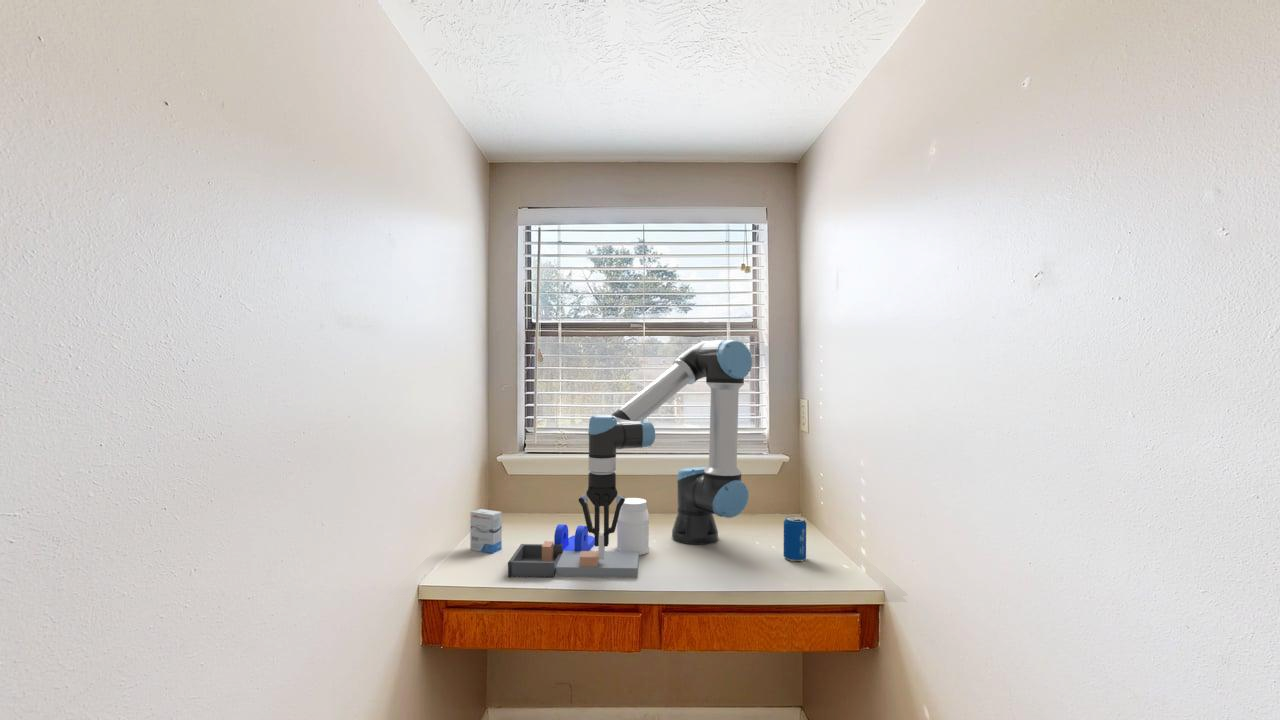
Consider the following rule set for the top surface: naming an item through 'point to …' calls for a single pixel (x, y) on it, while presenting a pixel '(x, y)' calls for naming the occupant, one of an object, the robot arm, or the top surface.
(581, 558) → the tile
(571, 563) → the board
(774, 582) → the top surface
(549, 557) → the tile
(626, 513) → the jar
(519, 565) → the box
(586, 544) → the bracket
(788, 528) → the beverage can
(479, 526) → the ink box
